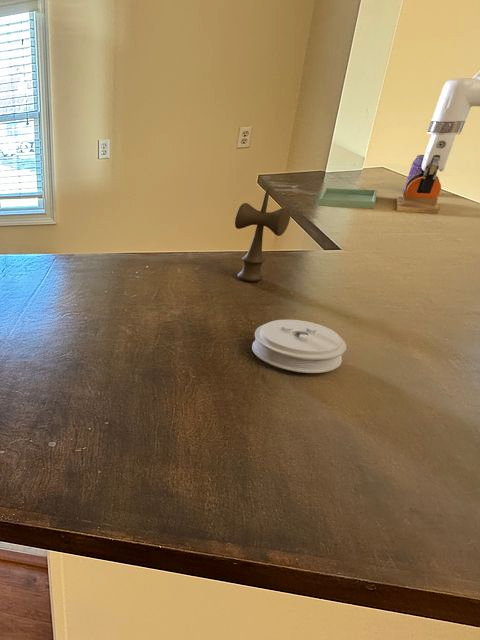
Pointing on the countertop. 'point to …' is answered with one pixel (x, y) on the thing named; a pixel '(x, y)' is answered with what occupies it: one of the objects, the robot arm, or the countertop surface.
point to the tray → (348, 198)
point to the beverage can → (415, 168)
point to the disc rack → (417, 204)
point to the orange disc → (434, 193)
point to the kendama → (259, 234)
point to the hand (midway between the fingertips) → (422, 189)
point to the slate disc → (414, 179)
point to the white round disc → (299, 346)
